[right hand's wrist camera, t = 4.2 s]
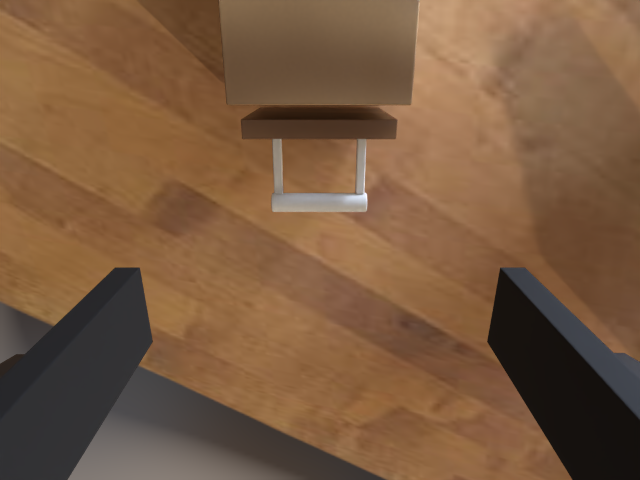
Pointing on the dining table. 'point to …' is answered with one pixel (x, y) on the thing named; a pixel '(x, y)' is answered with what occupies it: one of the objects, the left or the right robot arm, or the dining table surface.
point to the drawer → (319, 127)
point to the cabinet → (319, 51)
